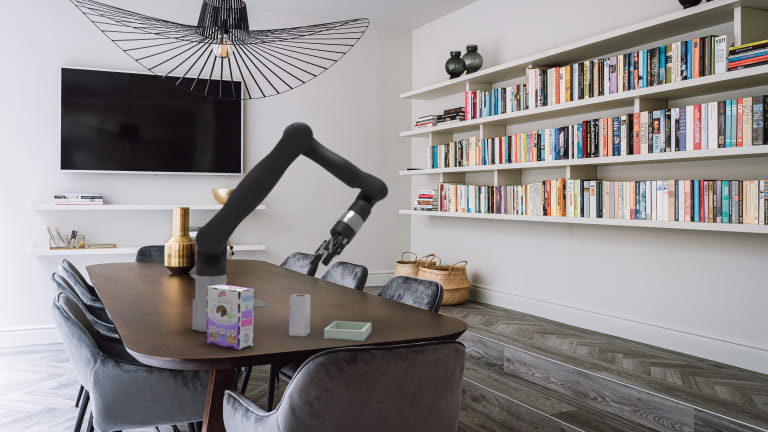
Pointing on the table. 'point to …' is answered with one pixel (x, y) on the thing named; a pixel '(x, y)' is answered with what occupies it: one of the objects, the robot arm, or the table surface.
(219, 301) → the candy box
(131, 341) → the table surface
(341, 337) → the tray
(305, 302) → the bored block
